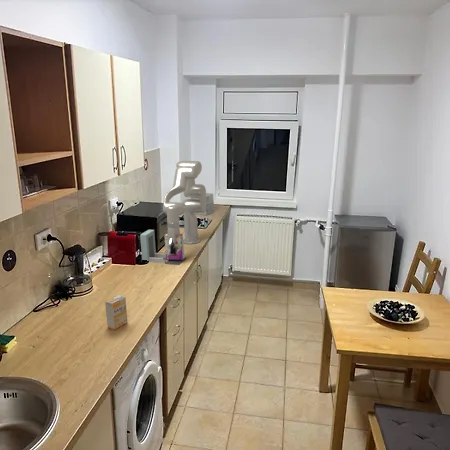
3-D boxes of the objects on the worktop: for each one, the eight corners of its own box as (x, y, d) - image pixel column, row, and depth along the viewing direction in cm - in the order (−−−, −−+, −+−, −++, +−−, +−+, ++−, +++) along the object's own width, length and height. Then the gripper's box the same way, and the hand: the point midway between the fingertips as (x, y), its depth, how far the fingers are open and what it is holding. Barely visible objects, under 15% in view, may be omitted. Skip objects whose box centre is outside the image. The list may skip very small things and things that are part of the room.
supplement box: (114, 330, 183) (112, 303, 179) (107, 327, 185) (104, 301, 182) (128, 322, 189) (125, 296, 186) (120, 319, 192) (118, 294, 188)
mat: (172, 257, 271) (172, 256, 271) (186, 258, 269) (186, 257, 269) (165, 263, 260) (165, 263, 260) (179, 265, 258) (179, 264, 258)
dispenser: (150, 255, 276) (148, 229, 271) (171, 257, 271) (170, 231, 267) (142, 261, 265) (140, 234, 260) (164, 263, 260) (162, 236, 255)
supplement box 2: (214, 212, 386) (213, 193, 381) (206, 215, 375) (205, 196, 370) (199, 210, 394) (198, 191, 389) (190, 213, 384) (190, 194, 379)
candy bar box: (165, 260, 263) (163, 235, 258) (168, 257, 267) (165, 233, 263) (183, 260, 261) (180, 235, 257) (184, 257, 266) (182, 233, 262)
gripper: (173, 220, 267) (174, 247, 272) (162, 228, 251) (164, 256, 256) (184, 221, 265) (185, 248, 270) (173, 229, 249) (175, 257, 254)
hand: (175, 251), depth 263 cm, fingers closed on candy bar box, 5 cm apart
